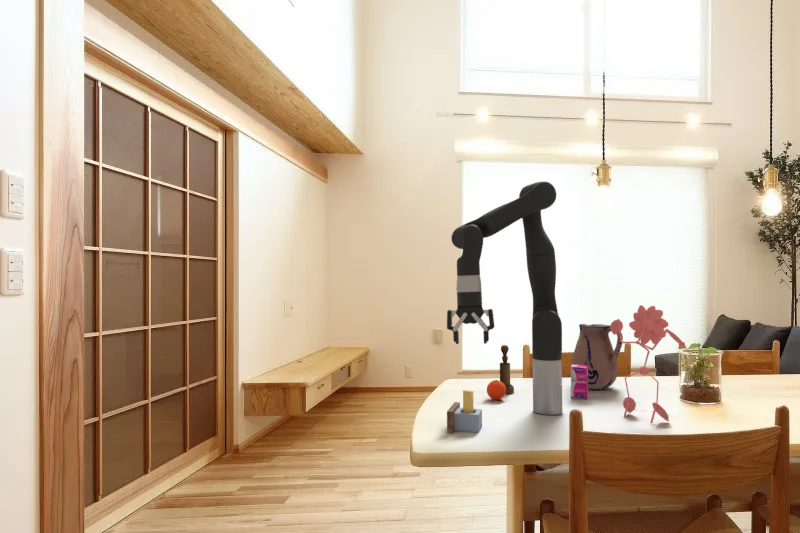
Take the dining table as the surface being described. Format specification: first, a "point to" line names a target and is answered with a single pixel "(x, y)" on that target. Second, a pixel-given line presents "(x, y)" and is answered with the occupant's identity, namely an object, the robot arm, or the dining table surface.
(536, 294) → the robot arm
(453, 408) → the wall
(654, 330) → the figurine
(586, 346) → the ceramic pitcher
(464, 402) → the dowel
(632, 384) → the dining table surface
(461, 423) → the socket block
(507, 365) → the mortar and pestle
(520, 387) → the dining table surface
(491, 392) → the clementine
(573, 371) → the supplement box
